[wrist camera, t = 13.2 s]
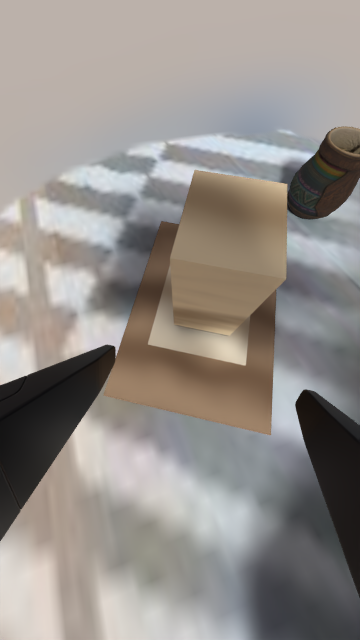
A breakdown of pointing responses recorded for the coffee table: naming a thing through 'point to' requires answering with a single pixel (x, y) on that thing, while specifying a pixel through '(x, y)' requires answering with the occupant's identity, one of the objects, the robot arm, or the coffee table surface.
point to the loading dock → (193, 355)
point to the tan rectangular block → (227, 251)
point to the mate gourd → (327, 175)
